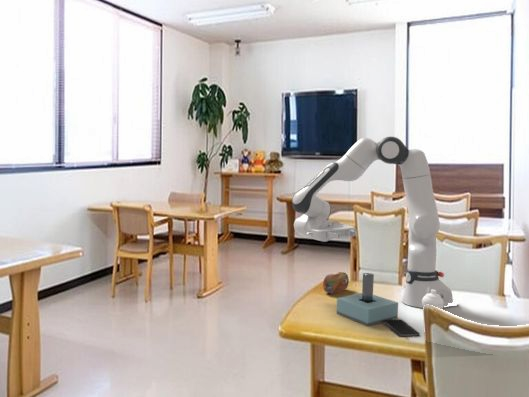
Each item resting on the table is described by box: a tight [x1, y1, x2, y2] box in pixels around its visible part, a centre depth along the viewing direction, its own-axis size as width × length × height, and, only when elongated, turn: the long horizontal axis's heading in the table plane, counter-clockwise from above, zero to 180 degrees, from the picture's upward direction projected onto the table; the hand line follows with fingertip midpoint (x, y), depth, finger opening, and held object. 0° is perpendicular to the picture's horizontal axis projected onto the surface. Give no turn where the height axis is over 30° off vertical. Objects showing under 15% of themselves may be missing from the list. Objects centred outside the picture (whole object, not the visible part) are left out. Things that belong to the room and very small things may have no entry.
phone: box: [381, 319, 421, 338], centre depth 176 cm, size 8×1×15 cm
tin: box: [322, 271, 350, 295], centre depth 222 cm, size 15×3×8 cm, turn 132°
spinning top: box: [422, 290, 444, 309], centre depth 184 cm, size 8×8×12 cm
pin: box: [361, 272, 375, 303], centre depth 189 cm, size 4×4×15 cm
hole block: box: [336, 292, 399, 327], centre depth 189 cm, size 16×16×6 cm
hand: (347, 235), depth 196 cm, fingers open, 8 cm apart
